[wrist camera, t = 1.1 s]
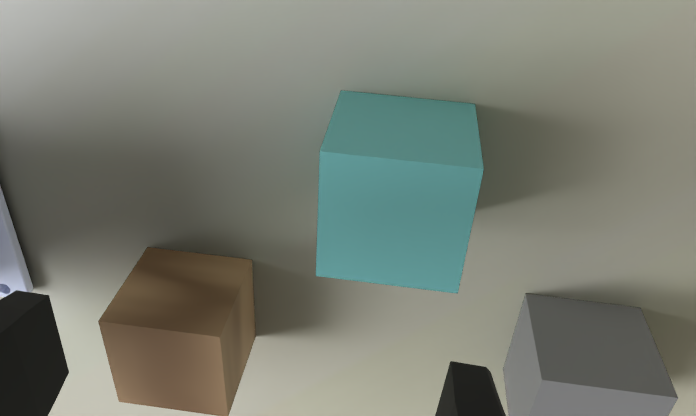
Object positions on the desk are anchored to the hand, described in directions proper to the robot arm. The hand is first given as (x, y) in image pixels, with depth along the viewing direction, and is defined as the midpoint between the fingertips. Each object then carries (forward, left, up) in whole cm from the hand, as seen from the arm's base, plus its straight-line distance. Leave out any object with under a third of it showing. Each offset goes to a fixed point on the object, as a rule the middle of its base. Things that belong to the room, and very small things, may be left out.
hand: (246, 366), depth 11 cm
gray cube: (+9, -8, -10) cm, 15 cm away
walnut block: (-5, -8, -10) cm, 13 cm away
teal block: (+2, -1, -10) cm, 10 cm away
